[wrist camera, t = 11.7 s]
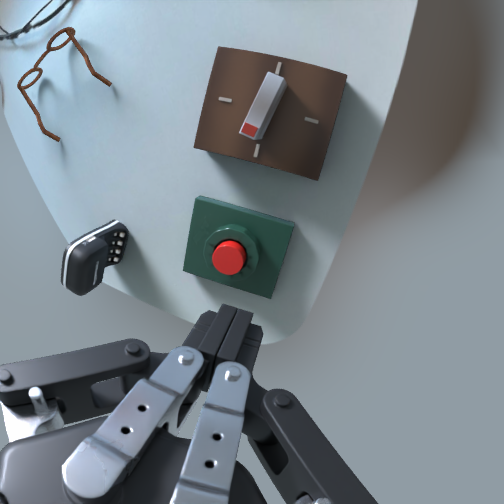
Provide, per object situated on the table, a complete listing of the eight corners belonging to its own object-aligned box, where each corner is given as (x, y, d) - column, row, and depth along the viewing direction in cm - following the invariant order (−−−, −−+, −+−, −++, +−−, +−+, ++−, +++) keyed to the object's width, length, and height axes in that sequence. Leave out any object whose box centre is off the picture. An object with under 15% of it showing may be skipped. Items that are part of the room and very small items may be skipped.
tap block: (344, 79, 29) (347, 74, 27) (317, 177, 34) (317, 181, 31) (225, 52, 31) (217, 45, 28) (202, 146, 35) (192, 147, 33)
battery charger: (125, 267, 44) (80, 305, 34) (105, 256, 44) (58, 290, 34) (135, 228, 41) (86, 260, 31) (114, 216, 41) (62, 244, 31)
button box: (294, 222, 37) (292, 231, 34) (272, 292, 41) (268, 306, 38) (200, 195, 38) (189, 201, 35) (187, 265, 42) (177, 276, 39)
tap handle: (273, 78, 28) (267, 70, 24) (287, 85, 28) (284, 77, 24) (247, 133, 31) (238, 133, 27) (261, 139, 31) (253, 140, 27)
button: (249, 245, 36) (246, 250, 34) (242, 272, 37) (239, 279, 35) (219, 236, 36) (215, 241, 34) (213, 263, 37) (209, 269, 36)
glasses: (81, 28, 31) (59, 22, 27) (113, 85, 34) (91, 82, 29) (32, 86, 36) (11, 86, 31) (59, 143, 39) (36, 147, 34)
